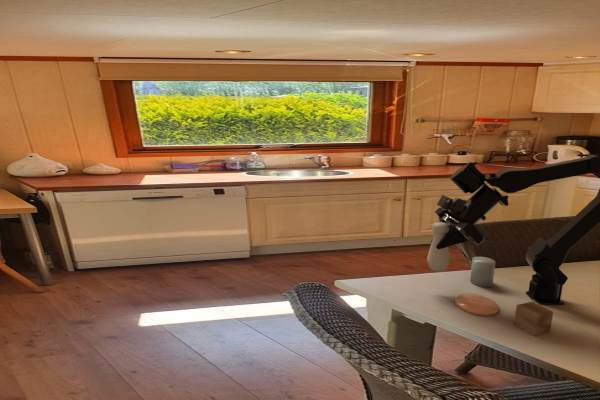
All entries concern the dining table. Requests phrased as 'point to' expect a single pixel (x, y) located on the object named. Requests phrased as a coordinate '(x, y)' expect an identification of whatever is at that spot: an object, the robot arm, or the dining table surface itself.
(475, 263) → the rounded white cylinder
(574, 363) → the dining table surface
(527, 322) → the walnut block
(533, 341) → the dining table surface
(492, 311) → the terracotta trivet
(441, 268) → the salt shaker
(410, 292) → the dining table surface
